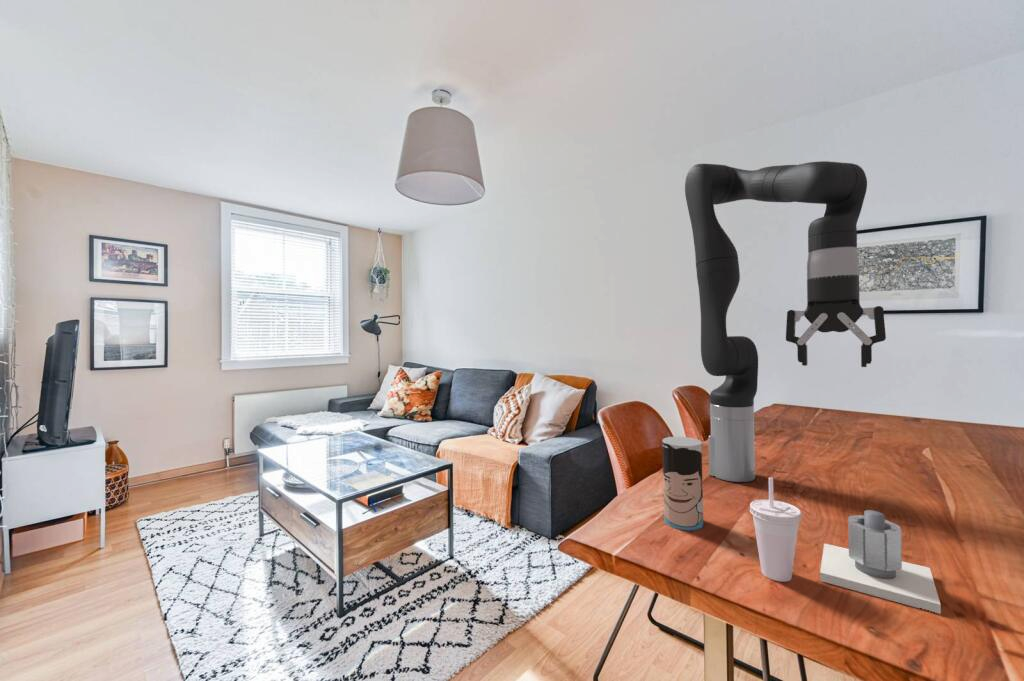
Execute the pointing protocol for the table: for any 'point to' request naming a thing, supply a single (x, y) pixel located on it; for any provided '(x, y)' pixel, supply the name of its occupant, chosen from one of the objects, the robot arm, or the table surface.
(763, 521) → the smoothie
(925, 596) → the shaft block
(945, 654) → the table surface
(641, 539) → the table surface
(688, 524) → the printed cylinder can
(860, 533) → the ring
